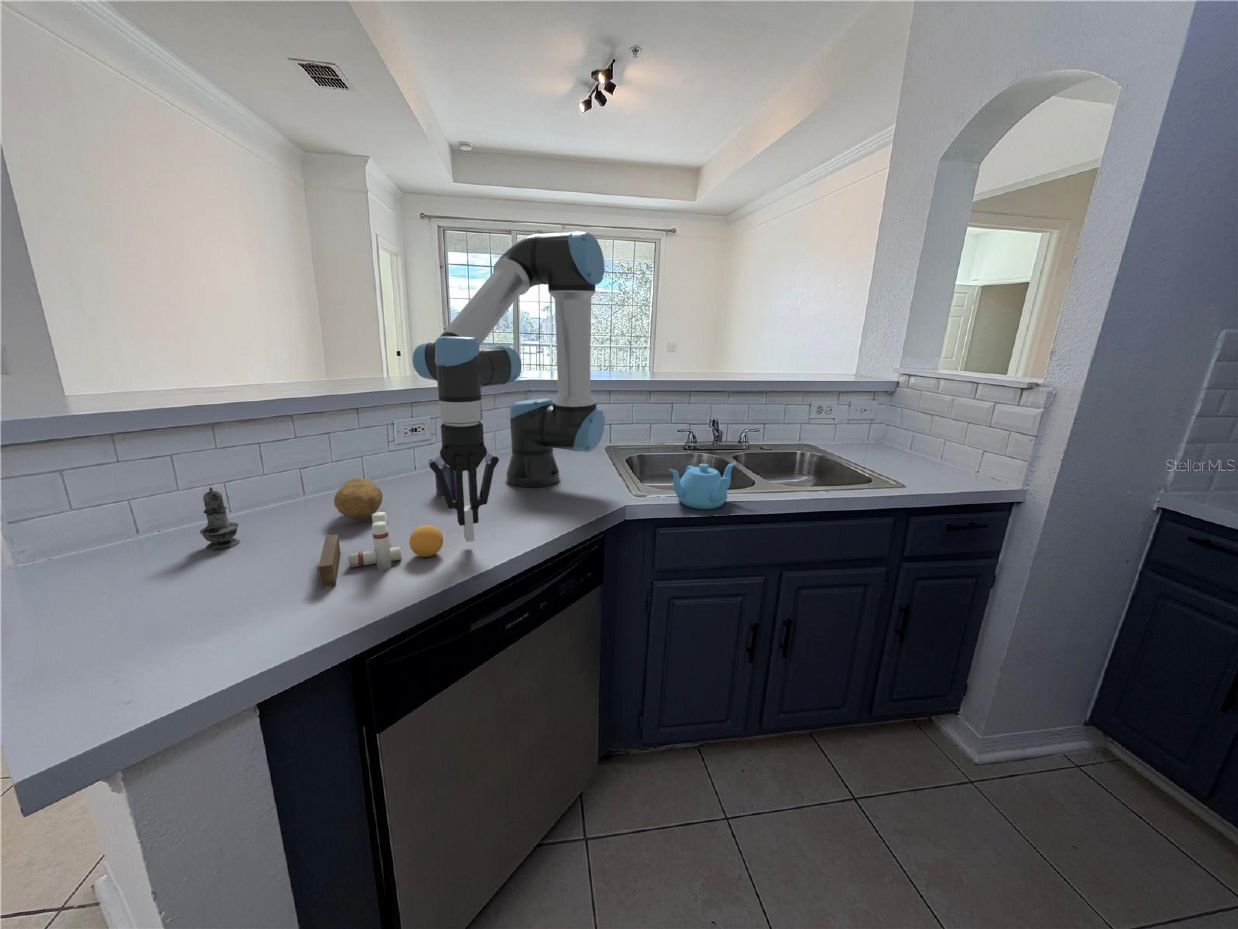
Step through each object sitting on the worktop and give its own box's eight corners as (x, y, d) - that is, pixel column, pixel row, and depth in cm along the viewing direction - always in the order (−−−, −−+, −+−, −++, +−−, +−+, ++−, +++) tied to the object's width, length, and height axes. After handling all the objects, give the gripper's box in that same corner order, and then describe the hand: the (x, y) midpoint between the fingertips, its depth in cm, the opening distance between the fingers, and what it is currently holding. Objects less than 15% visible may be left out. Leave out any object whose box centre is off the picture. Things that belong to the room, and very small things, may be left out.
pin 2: (391, 563, 90) (387, 520, 87) (392, 569, 87) (387, 525, 85) (376, 565, 89) (371, 522, 86) (376, 571, 86) (371, 527, 84)
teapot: (681, 490, 135) (684, 454, 132) (736, 498, 129) (739, 461, 127) (666, 507, 122) (668, 468, 119) (725, 516, 116) (729, 476, 113)
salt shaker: (239, 536, 99) (227, 480, 96) (244, 545, 95) (232, 487, 92) (202, 544, 95) (188, 486, 92) (205, 554, 91) (191, 494, 88)
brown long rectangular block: (340, 553, 93) (337, 534, 91) (335, 586, 81) (332, 564, 80) (328, 555, 92) (325, 536, 91) (321, 588, 81) (318, 566, 79)
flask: (434, 493, 127) (431, 454, 124) (444, 491, 129) (441, 452, 126) (454, 502, 121) (451, 461, 118) (464, 499, 123) (462, 458, 120)
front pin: (399, 544, 92) (348, 551, 88) (400, 550, 89) (348, 558, 86) (400, 555, 92) (350, 563, 89) (401, 562, 90) (350, 570, 87)
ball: (404, 525, 92) (412, 552, 95) (407, 538, 87) (415, 566, 90) (436, 516, 95) (443, 543, 97) (441, 528, 90) (448, 556, 92)
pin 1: (391, 551, 94) (386, 511, 92) (391, 557, 92) (386, 515, 89) (376, 554, 93) (371, 512, 91) (376, 559, 91) (371, 517, 88)
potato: (335, 531, 102) (329, 496, 100) (338, 509, 114) (333, 477, 112) (385, 524, 106) (381, 490, 104) (383, 503, 118) (380, 472, 116)
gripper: (493, 416, 96) (498, 526, 102) (422, 420, 90) (432, 536, 97) (501, 423, 89) (506, 540, 96) (426, 428, 84) (436, 552, 90)
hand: (469, 538), depth 96 cm, fingers closed
